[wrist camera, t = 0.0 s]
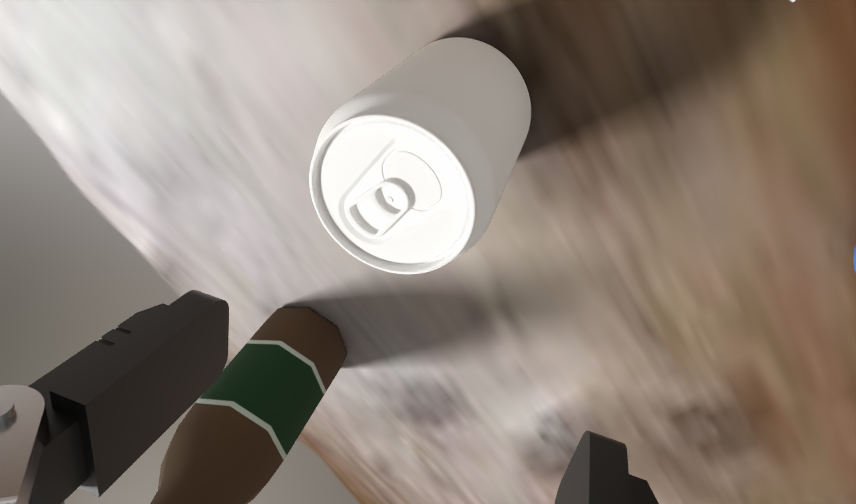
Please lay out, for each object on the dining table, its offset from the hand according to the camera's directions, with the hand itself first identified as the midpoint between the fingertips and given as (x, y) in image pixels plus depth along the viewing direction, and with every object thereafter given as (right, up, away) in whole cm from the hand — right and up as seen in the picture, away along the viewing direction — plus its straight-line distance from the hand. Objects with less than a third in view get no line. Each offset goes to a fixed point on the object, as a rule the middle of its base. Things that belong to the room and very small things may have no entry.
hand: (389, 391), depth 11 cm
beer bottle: (-9, -4, +35) cm, 36 cm away
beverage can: (+3, +11, +20) cm, 23 cm away
